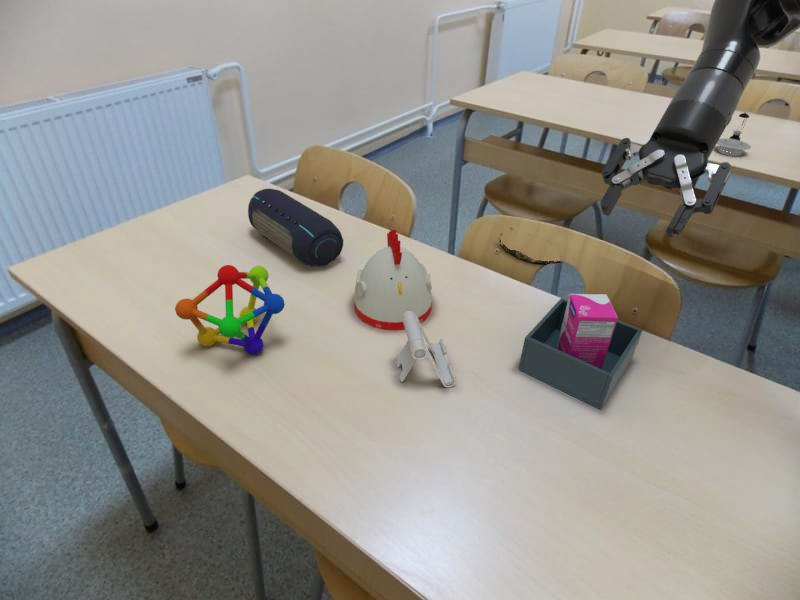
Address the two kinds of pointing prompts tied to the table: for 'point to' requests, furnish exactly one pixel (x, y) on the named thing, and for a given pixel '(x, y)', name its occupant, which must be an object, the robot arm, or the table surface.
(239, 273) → the educational toy
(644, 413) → the table surface
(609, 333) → the supplement box
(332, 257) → the portable speaker
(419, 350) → the tablet stand
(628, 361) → the bin
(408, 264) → the kitchen timer
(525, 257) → the dark brown curved strip
